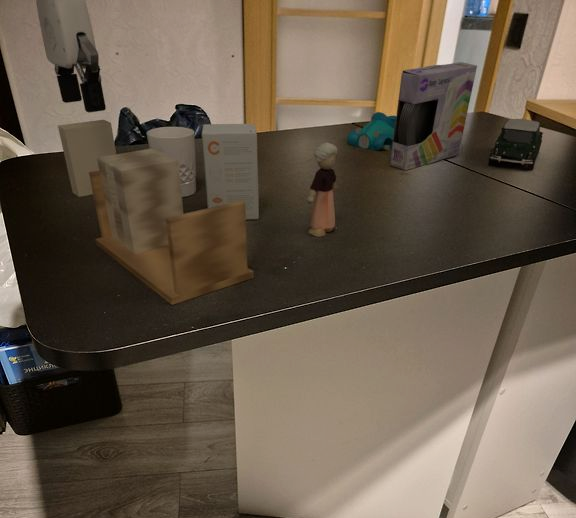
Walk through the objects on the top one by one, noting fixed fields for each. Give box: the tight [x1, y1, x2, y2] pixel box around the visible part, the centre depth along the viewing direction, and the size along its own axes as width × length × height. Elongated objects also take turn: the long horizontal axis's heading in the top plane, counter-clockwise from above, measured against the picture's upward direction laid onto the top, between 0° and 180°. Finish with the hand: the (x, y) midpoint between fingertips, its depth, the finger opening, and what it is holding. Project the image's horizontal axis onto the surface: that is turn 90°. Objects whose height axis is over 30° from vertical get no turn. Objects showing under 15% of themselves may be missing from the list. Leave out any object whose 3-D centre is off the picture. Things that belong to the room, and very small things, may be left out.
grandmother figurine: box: [306, 142, 338, 238], centre depth 79 cm, size 8×4×13 cm, turn 158°
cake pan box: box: [389, 61, 478, 171], centre depth 110 cm, size 19×5×18 cm, turn 129°
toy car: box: [346, 111, 396, 152], centre depth 126 cm, size 11×18×7 cm, turn 137°
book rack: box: [89, 148, 255, 306], centre depth 70 cm, size 12×22×12 cm, turn 39°
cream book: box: [57, 119, 117, 198], centre depth 93 cm, size 8×3×11 cm, turn 129°
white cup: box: [146, 126, 197, 198], centre depth 94 cm, size 8×8×10 cm
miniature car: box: [487, 118, 544, 171], centre depth 115 cm, size 9×18×8 cm, turn 155°
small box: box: [201, 123, 260, 220], centre depth 84 cm, size 8×6×13 cm
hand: (83, 106), depth 89 cm, fingers open, 9 cm apart
